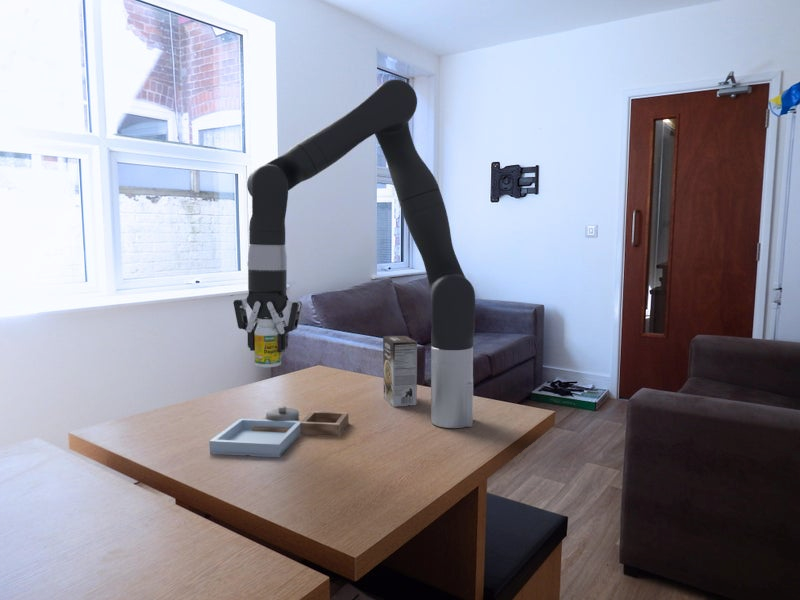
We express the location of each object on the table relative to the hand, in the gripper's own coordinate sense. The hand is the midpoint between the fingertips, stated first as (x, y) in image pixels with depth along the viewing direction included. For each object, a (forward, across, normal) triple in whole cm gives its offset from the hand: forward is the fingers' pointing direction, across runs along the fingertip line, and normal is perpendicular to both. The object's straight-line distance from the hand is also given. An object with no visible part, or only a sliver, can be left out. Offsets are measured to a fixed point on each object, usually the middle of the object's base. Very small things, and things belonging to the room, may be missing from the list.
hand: (267, 350), depth 117 cm
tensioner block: (+18, -5, -8) cm, 20 cm away
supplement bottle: (+3, 0, 0) cm, 3 cm away
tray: (+19, +1, +2) cm, 19 cm away
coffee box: (+18, -22, -31) cm, 42 cm away
